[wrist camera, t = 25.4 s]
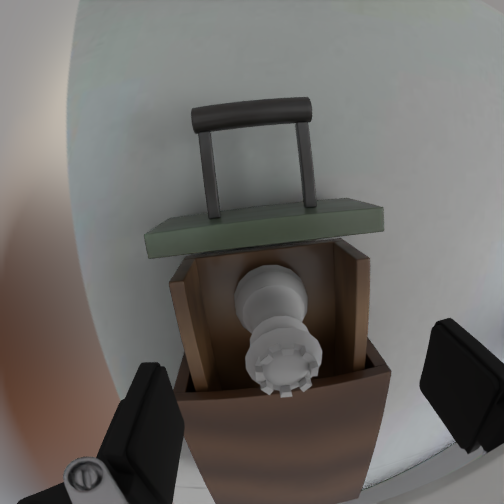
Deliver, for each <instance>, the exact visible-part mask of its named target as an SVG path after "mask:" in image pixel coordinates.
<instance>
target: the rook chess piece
mask: <svg viewBox="0 0 504 504" xmlns="http://www.w3.org/2000/svg"><path fill="white" fill-rule="evenodd" d="M234 299H235V308H236V315H237V317H238V318H239V320H240V322H241V324H242V326H243V327H244V328H245V329H247V330H248V331H249V332H250V333H252V335H251V338H250V348H249V350H248V352H247V354H246V357H245V361H246V370H247V372H248V373H249V375H250V376H251V378H252V380H254V381H255V382H257V383H258V384H260V386H261V390H262V391H264V392H265V393H267V394H268V395H270V394H271V393H272V392H273V389H274V390H278V391H280V397H281V398H282V397H292V392H291V390H292V389H294V388H297V387H300V389H301V390H302V391H303V392H305V391H306V390H307V389H308V388H310V387H311V386H312V383H311V380H310V378H312V377H313V376H318V368H319V366H320V365H321V360H322V349H321V347H320V345H319V342H318V340H317V339H316V338H314V337H313V336H312V335H311V334H310V333H309V332H308V329H307V327H306V326H305V325H304V324H303V323H302V322H303V319H304V317H305V315H306V313H307V307H308V296H307V293H306V289H305V287H304V285H303V282H302V280H301V278H300V277H298V276H297V275H296V274H295V273H294V272H293V271H292V270H291V269H288V268H285V267H282V266H279V265H263V266H260V267H258V268H256V269H254V270H251V271H249V272H248V273H247V274H246V275H245V276H244V277H243V278H242V279H241V280H240V281H239V283H238V286H237V289H236V291H235V294H234Z"/></svg>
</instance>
